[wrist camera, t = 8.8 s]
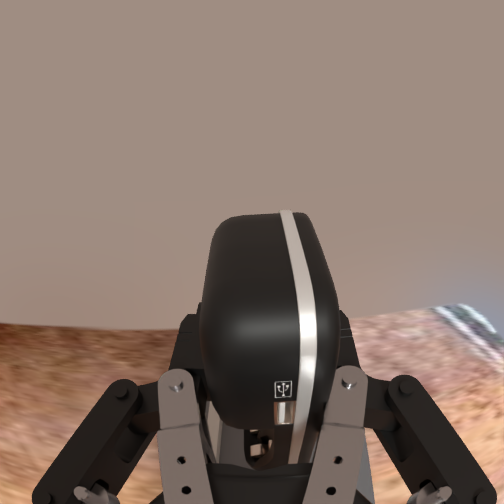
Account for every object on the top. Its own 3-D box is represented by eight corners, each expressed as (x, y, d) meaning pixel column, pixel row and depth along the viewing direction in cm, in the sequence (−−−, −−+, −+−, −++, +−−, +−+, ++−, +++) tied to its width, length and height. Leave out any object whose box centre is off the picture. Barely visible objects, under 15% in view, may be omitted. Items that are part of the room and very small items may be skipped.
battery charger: (233, 375, 19) (207, 198, 12) (295, 371, 19) (304, 193, 12) (231, 481, 13) (174, 331, 7) (308, 476, 13) (353, 321, 7)
